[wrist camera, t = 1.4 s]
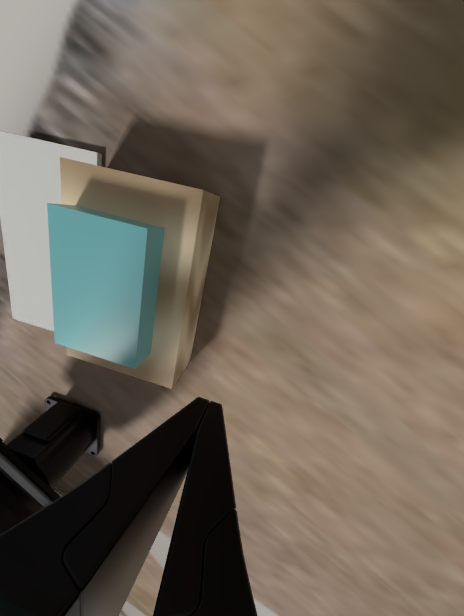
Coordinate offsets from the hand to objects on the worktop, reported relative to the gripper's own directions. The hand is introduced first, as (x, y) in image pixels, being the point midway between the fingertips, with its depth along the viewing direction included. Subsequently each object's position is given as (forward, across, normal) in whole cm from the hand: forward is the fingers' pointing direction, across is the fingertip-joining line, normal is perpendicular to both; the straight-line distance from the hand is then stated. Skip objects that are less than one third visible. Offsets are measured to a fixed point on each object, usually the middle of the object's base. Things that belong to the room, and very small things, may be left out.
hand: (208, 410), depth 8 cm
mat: (+12, +18, 0) cm, 21 cm away
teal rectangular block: (+8, +9, 0) cm, 12 cm away
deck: (+12, +8, 0) cm, 15 cm away
